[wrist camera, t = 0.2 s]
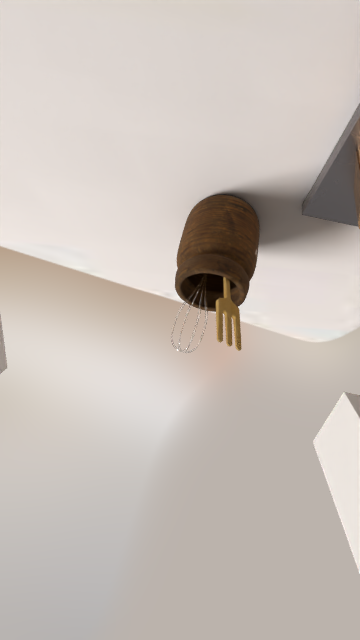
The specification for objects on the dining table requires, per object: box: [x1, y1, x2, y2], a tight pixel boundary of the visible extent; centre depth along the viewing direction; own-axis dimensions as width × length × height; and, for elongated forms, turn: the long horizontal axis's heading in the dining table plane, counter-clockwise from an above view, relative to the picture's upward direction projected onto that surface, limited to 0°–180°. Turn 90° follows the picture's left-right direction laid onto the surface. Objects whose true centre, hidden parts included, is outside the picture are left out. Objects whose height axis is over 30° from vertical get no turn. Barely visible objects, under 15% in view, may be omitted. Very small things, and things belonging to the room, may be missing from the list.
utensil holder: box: [171, 195, 259, 353], centre depth 20 cm, size 6×6×12 cm
